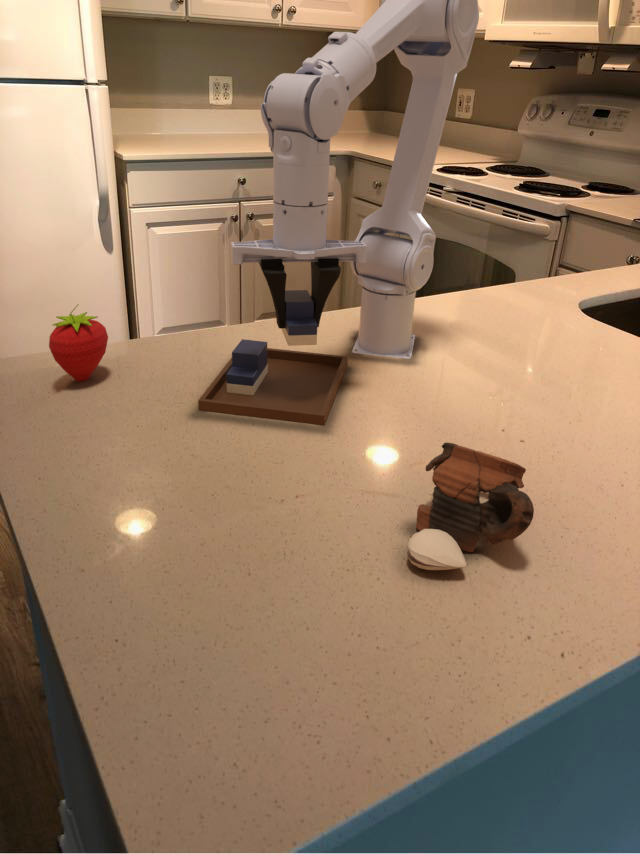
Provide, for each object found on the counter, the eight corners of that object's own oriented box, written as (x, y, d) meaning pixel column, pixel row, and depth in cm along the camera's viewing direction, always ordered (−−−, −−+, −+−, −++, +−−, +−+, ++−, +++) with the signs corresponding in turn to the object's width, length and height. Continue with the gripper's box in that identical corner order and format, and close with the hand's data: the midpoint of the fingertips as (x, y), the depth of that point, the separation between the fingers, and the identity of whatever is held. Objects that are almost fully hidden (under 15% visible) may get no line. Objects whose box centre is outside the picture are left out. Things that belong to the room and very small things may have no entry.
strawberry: (123, 375, 87) (116, 297, 83) (84, 399, 81) (73, 316, 76) (84, 367, 89) (74, 289, 84) (42, 389, 83) (29, 307, 78)
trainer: (279, 324, 84) (279, 289, 82) (305, 323, 84) (306, 289, 82) (288, 346, 78) (288, 309, 76) (316, 345, 78) (318, 308, 76)
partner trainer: (243, 369, 89) (242, 338, 87) (267, 372, 88) (268, 340, 86) (226, 392, 83) (225, 359, 81) (253, 395, 82) (253, 362, 80)
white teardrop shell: (424, 540, 60) (428, 515, 59) (477, 565, 57) (481, 540, 56) (396, 564, 57) (399, 539, 56) (450, 592, 54) (454, 566, 53)
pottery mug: (386, 518, 64) (414, 431, 63) (460, 536, 69) (486, 455, 68) (479, 564, 53) (513, 460, 53) (557, 581, 58) (589, 486, 58)
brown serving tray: (241, 357, 94) (241, 345, 93) (347, 369, 92) (347, 356, 91) (198, 414, 79) (197, 400, 78) (324, 430, 77) (324, 415, 76)
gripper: (234, 209, 69) (236, 339, 76) (377, 209, 72) (367, 335, 78) (228, 195, 75) (231, 317, 82) (360, 196, 78) (353, 314, 85)
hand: (297, 325), depth 81 cm, fingers closed on trainer, 3 cm apart
